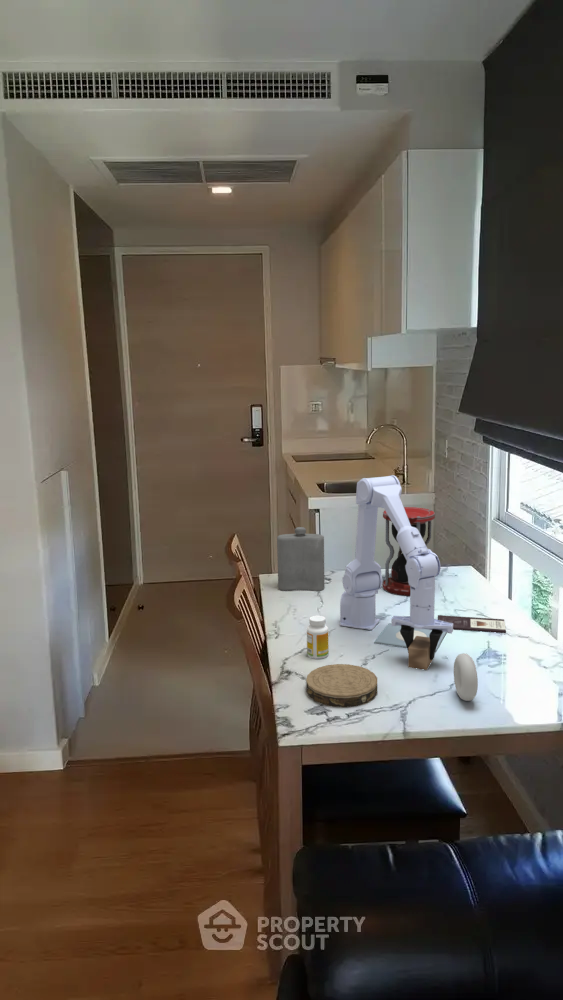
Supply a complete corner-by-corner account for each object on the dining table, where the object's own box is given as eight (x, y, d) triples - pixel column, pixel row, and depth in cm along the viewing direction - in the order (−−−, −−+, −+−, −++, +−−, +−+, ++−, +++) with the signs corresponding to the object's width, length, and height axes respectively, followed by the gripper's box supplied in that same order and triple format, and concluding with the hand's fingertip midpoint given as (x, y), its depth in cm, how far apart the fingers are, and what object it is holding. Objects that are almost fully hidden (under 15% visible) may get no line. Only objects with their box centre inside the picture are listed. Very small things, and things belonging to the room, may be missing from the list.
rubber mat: (374, 643, 184) (374, 641, 184) (388, 624, 197) (388, 622, 197) (435, 652, 178) (435, 650, 178) (446, 632, 190) (447, 630, 190)
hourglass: (375, 582, 233) (375, 508, 228) (420, 578, 237) (421, 505, 232) (394, 598, 218) (394, 519, 213) (442, 593, 222) (444, 515, 217)
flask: (324, 585, 232) (323, 525, 228) (324, 591, 226) (323, 530, 222) (279, 585, 233) (277, 526, 229) (277, 591, 227) (276, 530, 223)
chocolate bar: (437, 615, 202) (504, 619, 197) (437, 618, 202) (504, 622, 197) (436, 626, 193) (506, 631, 189) (436, 630, 193) (505, 634, 189)
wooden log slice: (292, 689, 160) (291, 677, 160) (343, 669, 170) (343, 658, 169) (339, 716, 148) (339, 703, 147) (392, 693, 157) (392, 680, 157)
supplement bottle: (331, 651, 180) (330, 615, 178) (325, 660, 175) (324, 623, 173) (310, 649, 181) (310, 613, 179) (304, 657, 176) (303, 620, 174)
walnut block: (408, 667, 170) (408, 647, 169) (416, 654, 177) (416, 635, 176) (426, 670, 168) (427, 650, 167) (434, 657, 175) (434, 638, 174)
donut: (451, 688, 158) (452, 646, 157) (466, 687, 158) (467, 645, 157) (462, 710, 149) (464, 665, 147) (479, 709, 149) (480, 665, 147)
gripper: (388, 605, 169) (387, 658, 171) (449, 612, 163) (448, 667, 165) (396, 595, 175) (395, 647, 178) (455, 602, 169) (454, 656, 172)
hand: (421, 656), depth 172 cm, fingers closed on walnut block, 4 cm apart
